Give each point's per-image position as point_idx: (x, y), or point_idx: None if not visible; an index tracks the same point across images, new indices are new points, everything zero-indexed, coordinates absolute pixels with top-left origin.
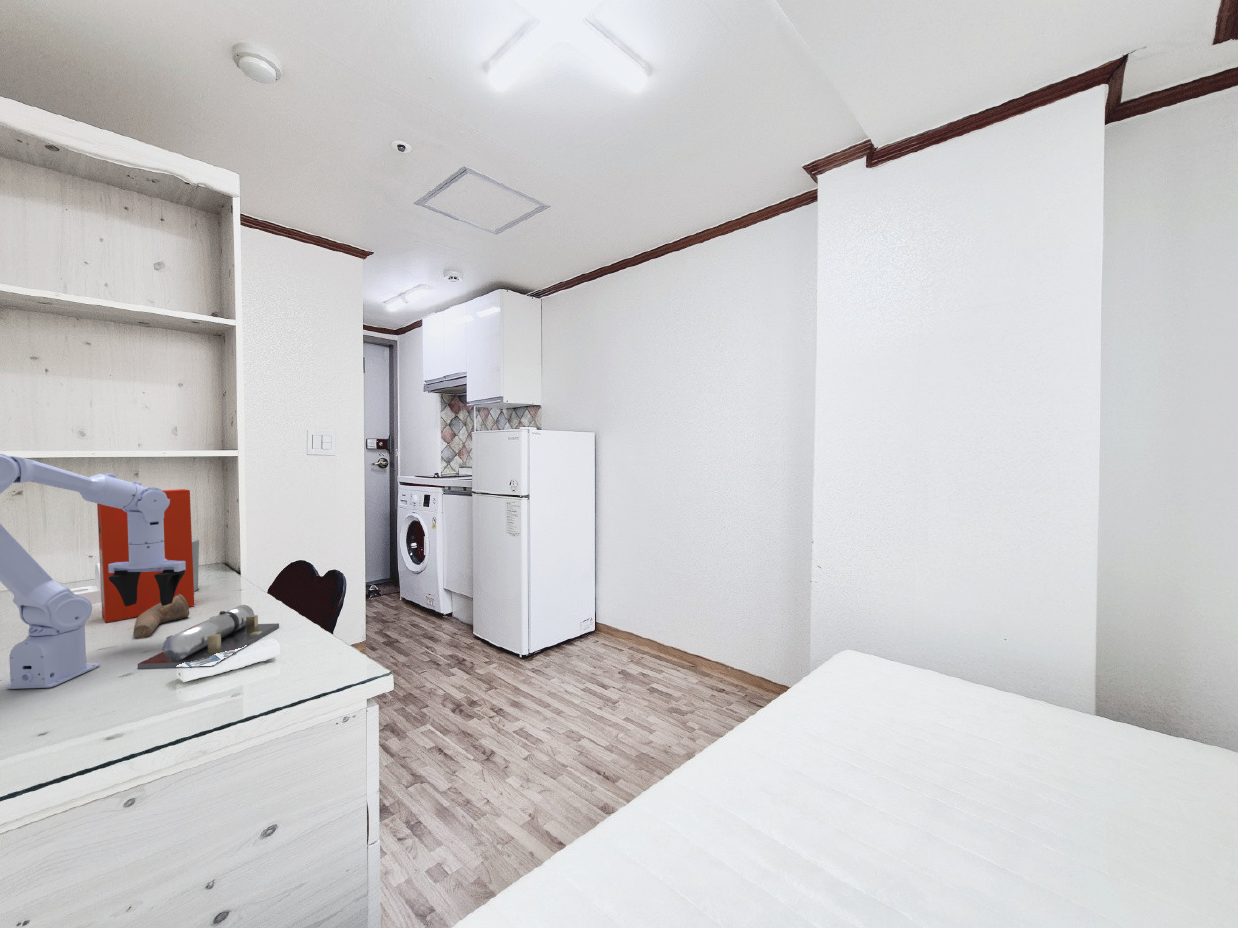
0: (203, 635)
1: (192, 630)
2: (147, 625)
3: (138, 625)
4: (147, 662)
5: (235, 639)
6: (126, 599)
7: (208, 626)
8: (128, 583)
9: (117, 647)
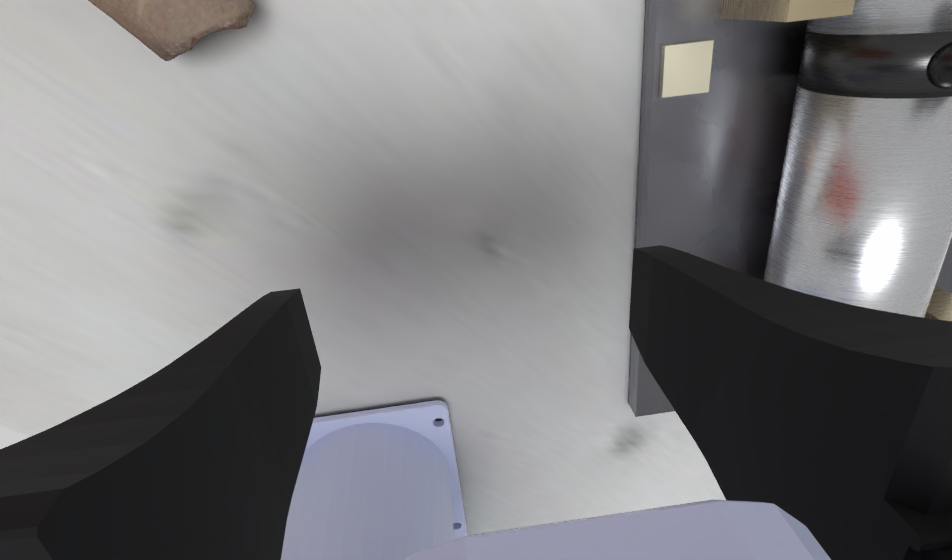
0: None
1: None
2: (224, 18)
3: (156, 34)
4: (665, 401)
5: None
6: (310, 423)
7: (931, 292)
8: (245, 542)
9: (253, 198)
